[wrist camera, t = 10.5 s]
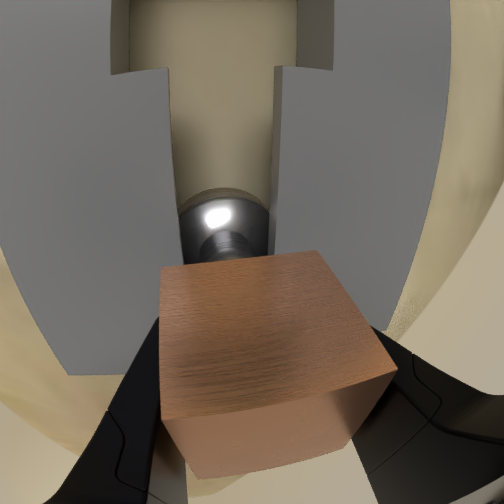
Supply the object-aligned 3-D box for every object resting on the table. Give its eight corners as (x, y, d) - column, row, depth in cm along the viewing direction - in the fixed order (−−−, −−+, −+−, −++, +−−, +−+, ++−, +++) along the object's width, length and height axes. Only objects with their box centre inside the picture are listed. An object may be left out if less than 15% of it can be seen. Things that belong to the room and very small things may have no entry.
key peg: (276, 184, 11) (410, 359, 4) (271, 275, 14) (347, 448, 7) (160, 193, 11) (145, 415, 4) (174, 287, 13) (191, 481, 6)
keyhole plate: (21, -40, 4) (-13, -59, 1) (399, -41, 7) (442, -52, 4) (78, 330, 14) (68, 375, 11) (361, 294, 17) (386, 329, 14)
